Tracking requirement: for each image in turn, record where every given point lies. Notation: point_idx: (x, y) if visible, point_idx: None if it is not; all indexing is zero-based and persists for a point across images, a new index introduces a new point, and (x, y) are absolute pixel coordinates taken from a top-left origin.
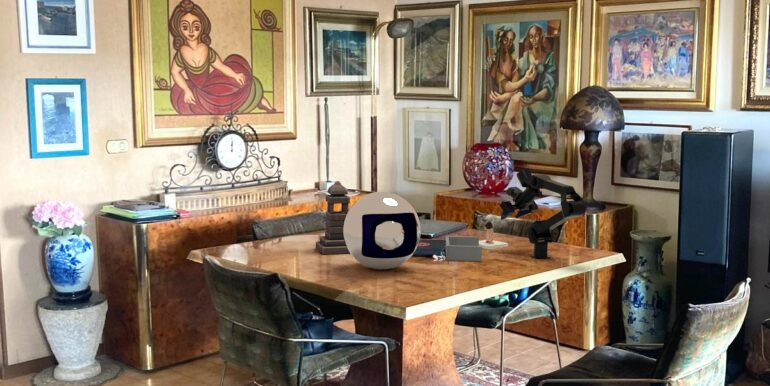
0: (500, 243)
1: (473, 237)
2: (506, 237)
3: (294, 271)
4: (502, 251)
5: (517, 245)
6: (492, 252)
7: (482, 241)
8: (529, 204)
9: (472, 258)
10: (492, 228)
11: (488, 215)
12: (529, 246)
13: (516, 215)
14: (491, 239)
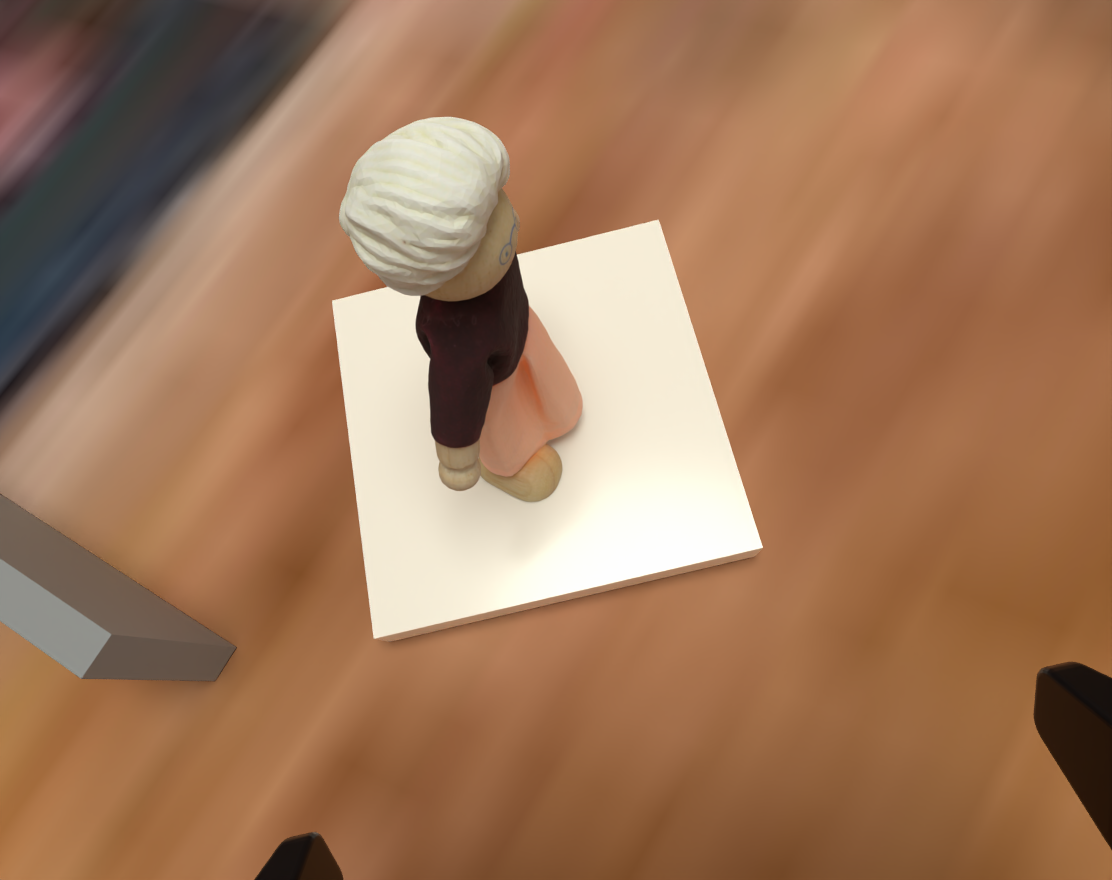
0: (648, 517)
1: (18, 632)
2: (1037, 33)
3: None
4: (488, 845)
5: (939, 517)
6: None
7: None
8: None
9: None
10: (455, 449)
11: (370, 177)
12: (1093, 650)
13: (1091, 732)
14: (512, 464)
